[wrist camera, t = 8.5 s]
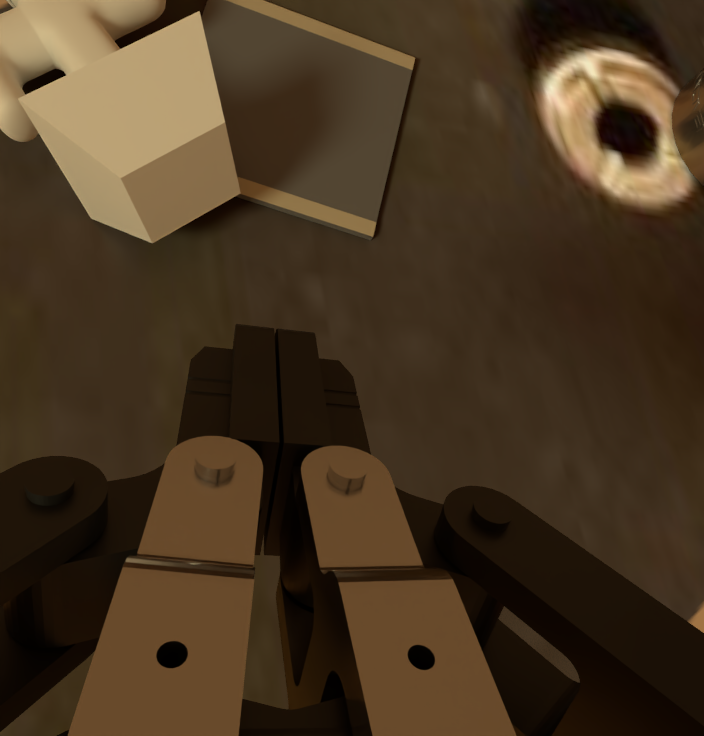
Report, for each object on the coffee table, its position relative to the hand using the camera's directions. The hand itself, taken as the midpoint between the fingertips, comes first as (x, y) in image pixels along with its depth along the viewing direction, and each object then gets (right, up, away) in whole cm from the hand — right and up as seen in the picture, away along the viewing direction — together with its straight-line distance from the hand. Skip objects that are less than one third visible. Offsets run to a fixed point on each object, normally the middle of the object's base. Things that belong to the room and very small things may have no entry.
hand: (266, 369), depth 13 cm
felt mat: (-1, +13, +20) cm, 24 cm away
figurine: (-5, +7, +13) cm, 15 cm away
